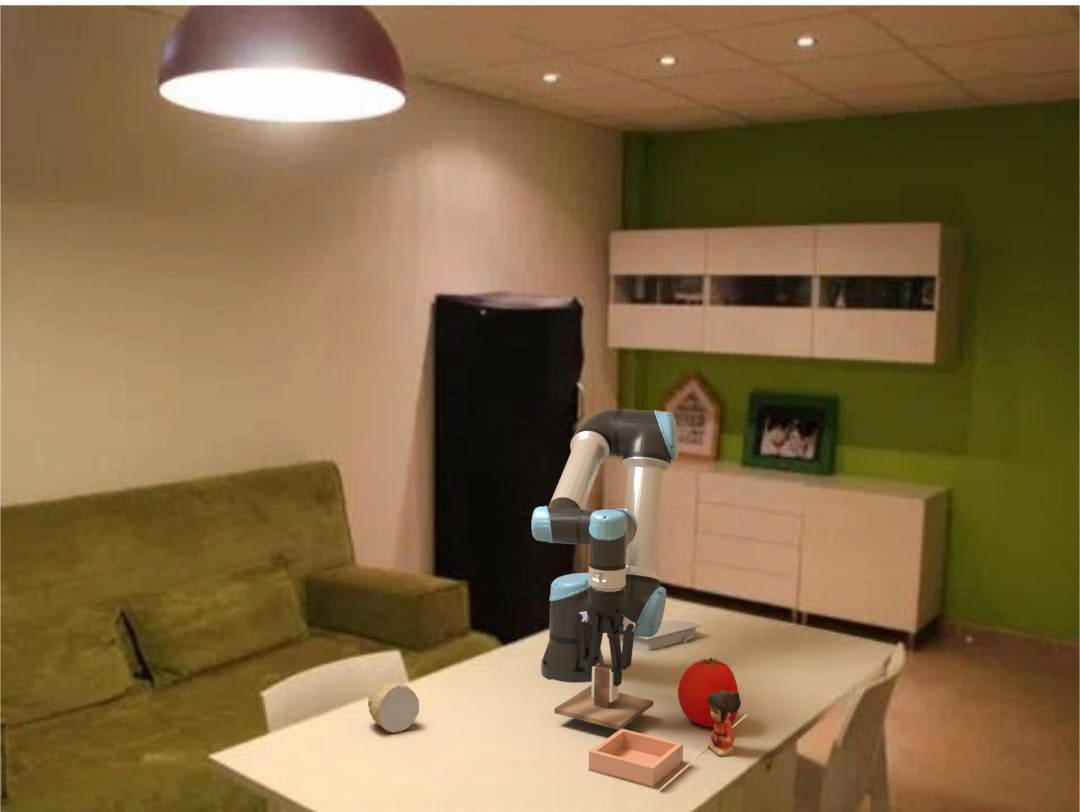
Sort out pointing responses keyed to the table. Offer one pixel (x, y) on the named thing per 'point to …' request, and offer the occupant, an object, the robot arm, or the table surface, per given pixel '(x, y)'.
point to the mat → (598, 727)
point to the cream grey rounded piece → (393, 706)
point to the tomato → (704, 689)
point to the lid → (603, 704)
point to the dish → (636, 758)
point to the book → (667, 635)
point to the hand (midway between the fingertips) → (604, 697)
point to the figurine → (723, 721)
